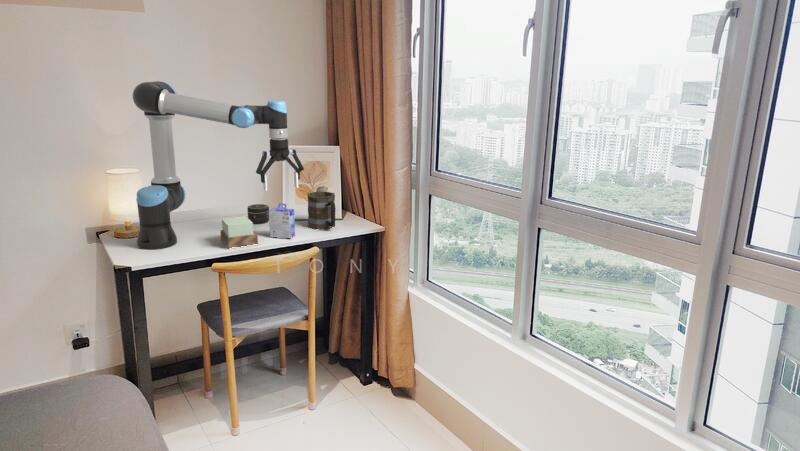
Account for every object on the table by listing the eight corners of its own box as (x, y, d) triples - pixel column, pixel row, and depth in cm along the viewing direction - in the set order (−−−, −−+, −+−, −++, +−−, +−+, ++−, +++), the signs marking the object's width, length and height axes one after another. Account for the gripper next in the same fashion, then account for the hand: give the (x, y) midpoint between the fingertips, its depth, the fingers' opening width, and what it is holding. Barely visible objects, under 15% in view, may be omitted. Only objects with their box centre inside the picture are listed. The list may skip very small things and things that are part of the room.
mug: (302, 224, 264) (301, 193, 260) (328, 220, 271) (327, 190, 267) (320, 234, 248) (319, 201, 244) (347, 230, 255) (347, 198, 251)
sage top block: (228, 237, 226) (227, 225, 225) (222, 230, 236) (221, 218, 235) (253, 234, 231) (252, 222, 229) (246, 227, 241) (245, 216, 239)
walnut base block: (228, 250, 226) (228, 238, 225) (221, 241, 237) (220, 230, 236) (258, 245, 232) (257, 234, 231) (249, 237, 243) (248, 226, 242)
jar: (245, 224, 262) (244, 208, 260) (251, 218, 272) (250, 203, 270) (266, 225, 262) (265, 209, 260) (272, 219, 271) (271, 204, 269)
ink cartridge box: (295, 235, 246) (294, 203, 242) (291, 239, 240) (289, 206, 237) (274, 234, 248) (273, 202, 244) (269, 237, 242) (267, 205, 238)
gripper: (251, 141, 223) (254, 193, 229) (310, 138, 235) (312, 187, 241) (246, 139, 229) (249, 189, 235) (303, 136, 242) (305, 184, 247)
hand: (281, 188), depth 238 cm, fingers open, 13 cm apart
